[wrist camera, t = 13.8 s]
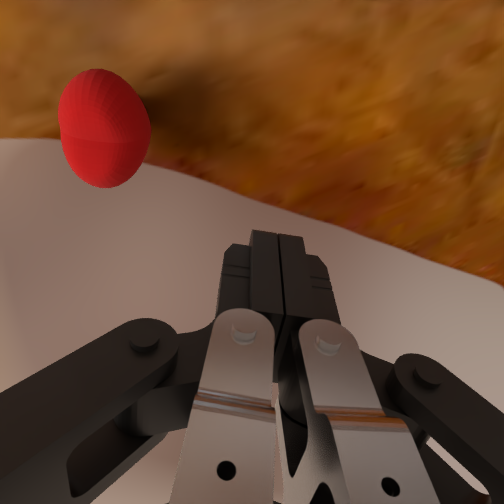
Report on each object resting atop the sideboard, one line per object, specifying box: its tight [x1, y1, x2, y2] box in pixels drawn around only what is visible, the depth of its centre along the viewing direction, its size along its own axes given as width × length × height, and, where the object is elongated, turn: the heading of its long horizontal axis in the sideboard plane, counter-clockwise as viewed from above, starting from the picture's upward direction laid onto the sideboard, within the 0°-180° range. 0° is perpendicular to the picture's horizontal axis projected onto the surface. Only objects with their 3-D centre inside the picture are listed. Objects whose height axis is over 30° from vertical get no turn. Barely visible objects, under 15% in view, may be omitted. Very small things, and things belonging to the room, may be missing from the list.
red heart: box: [58, 69, 151, 188], centre depth 34 cm, size 9×7×10 cm
